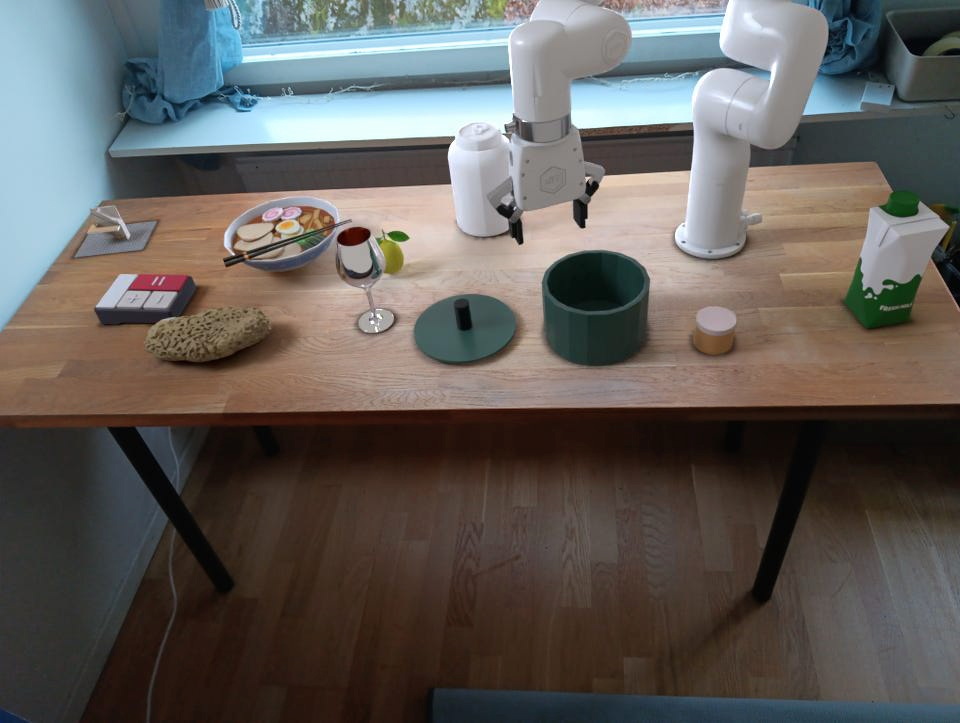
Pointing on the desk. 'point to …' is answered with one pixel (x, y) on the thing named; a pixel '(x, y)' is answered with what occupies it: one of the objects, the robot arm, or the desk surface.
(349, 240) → the wineglass
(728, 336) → the cake
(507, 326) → the lid
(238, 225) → the ramen bowl
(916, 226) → the milk carton
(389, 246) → the lemon
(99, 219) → the architectural model
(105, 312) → the calculator
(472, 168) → the can
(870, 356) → the desk surface
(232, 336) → the sponge
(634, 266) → the pot
